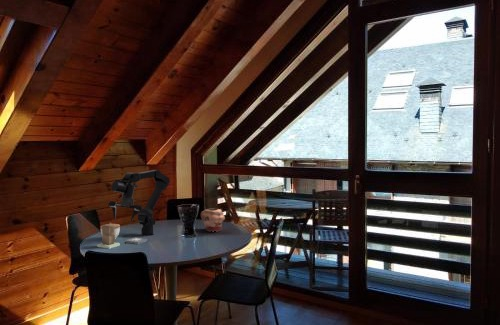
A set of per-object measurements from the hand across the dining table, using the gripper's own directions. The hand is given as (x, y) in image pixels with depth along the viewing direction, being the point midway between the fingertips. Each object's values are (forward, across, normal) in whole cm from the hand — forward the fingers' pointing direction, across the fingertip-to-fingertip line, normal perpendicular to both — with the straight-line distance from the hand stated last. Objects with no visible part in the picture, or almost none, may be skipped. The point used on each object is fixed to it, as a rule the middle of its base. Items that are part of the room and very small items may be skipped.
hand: (122, 220), depth 225 cm
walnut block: (+13, -4, -10) cm, 17 cm away
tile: (+10, +10, -4) cm, 15 cm away
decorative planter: (-1, +54, +15) cm, 56 cm away
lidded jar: (+12, -5, +8) cm, 15 cm away
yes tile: (+14, -4, -10) cm, 18 cm away
